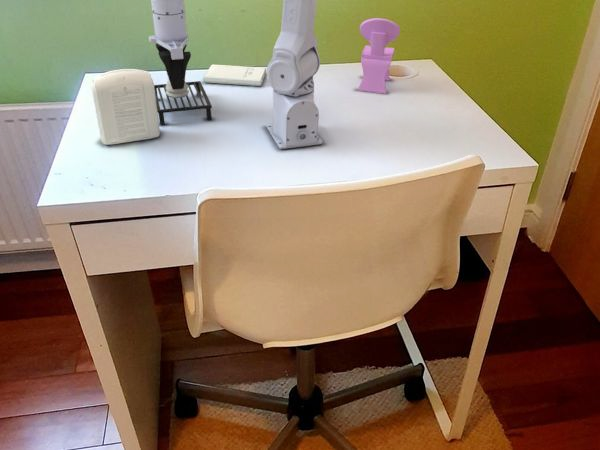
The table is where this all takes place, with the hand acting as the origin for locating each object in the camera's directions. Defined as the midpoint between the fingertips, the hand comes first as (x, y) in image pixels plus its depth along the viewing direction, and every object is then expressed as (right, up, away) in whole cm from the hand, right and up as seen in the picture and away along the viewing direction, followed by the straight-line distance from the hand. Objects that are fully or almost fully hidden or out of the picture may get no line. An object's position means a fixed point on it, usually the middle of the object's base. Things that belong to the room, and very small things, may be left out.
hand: (176, 84), depth 106 cm
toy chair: (+40, +4, +17) cm, 44 cm away
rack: (0, -4, +3) cm, 5 cm away
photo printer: (-6, -12, -7) cm, 15 cm away
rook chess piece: (0, -2, +1) cm, 2 cm away
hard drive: (+9, +6, +18) cm, 21 cm away
